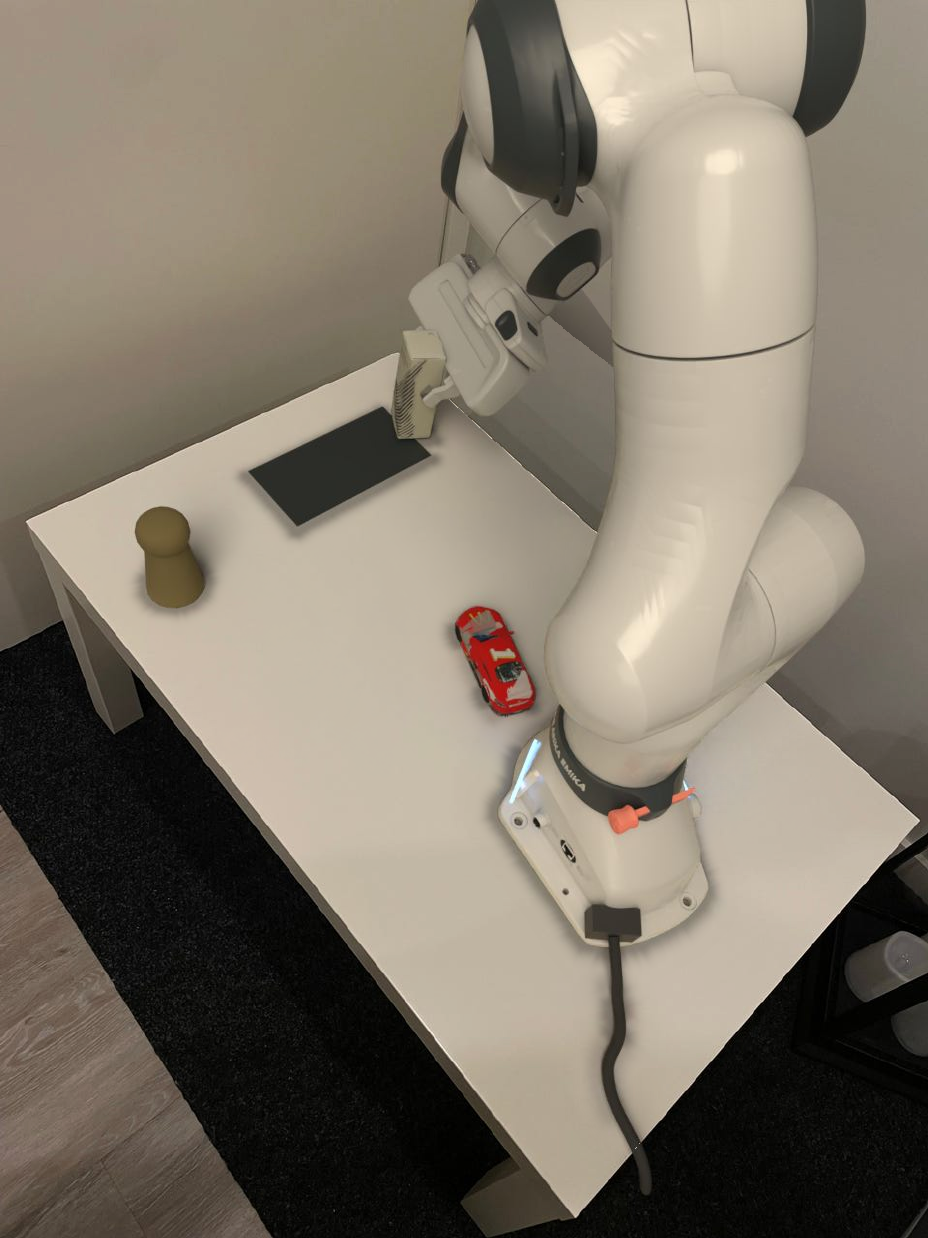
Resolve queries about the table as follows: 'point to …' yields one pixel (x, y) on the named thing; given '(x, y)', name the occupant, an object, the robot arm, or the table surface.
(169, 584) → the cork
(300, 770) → the table surface
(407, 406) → the box
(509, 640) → the race car
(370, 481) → the slate board
